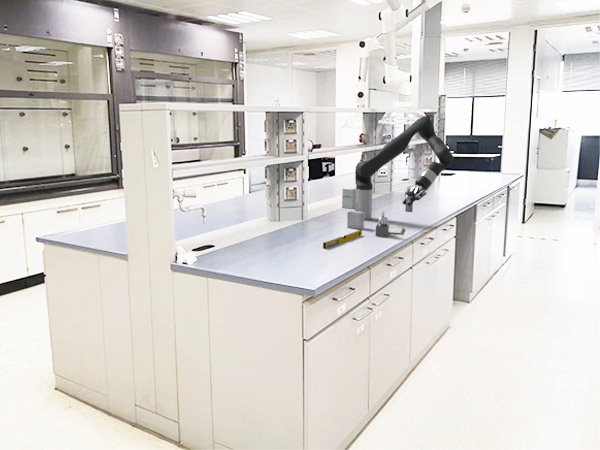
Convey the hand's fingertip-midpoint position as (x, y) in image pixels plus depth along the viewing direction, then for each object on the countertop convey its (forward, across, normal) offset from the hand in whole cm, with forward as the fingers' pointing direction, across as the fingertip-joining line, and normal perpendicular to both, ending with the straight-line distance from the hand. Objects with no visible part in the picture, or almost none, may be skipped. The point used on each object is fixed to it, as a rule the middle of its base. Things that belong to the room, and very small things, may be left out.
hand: (405, 204), depth 274 cm
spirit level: (+40, -10, +20) cm, 46 cm away
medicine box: (+25, +15, +5) cm, 29 cm away
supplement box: (+5, +72, -16) cm, 74 cm away
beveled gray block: (+22, -6, +3) cm, 23 cm away
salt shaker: (+1, 0, -4) cm, 5 cm away
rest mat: (+15, 0, -4) cm, 16 cm away
